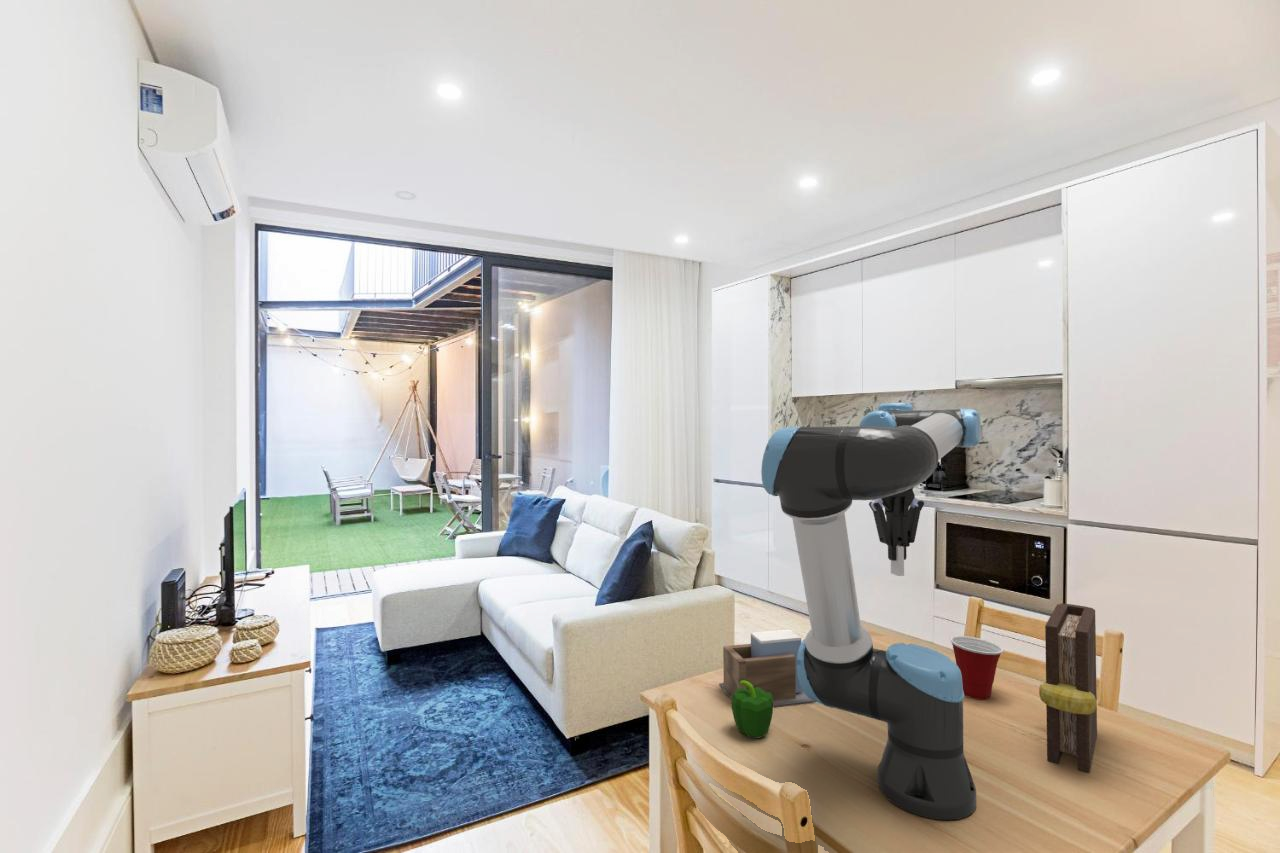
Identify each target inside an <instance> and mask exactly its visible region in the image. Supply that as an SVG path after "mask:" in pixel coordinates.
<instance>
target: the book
mask: <svg viewBox="0 0 1280 853" xmlns="http://www.w3.org/2000/svg"><path fill="white" fill-rule="evenodd" d="M1044 626H1045V627H1044V633H1045V634H1044V635H1045V637H1044V638H1045V640H1044V641H1045V642H1044V643H1045V682H1042V683H1041V684H1040V685H1039V687H1038V690H1039V691H1038V693H1039V697H1040V701H1041V702H1042V703H1044V704H1045V705H1046V706H1045V707H1046V760H1047V762H1049V763H1052V764H1054V765H1059V764H1060V762H1061V759H1062V755H1063V753H1064V754H1065V753H1066V754H1069V755H1072V756H1076V760H1077V761H1076V764H1077V765H1076V769H1077V771H1079V772H1081V773H1082V772H1083V773H1085V774H1090V772H1091V769H1092V763H1093V759H1094V754H1095V753H1094V752H1095V749H1096V748H1095V747H1096V743H1097V738H1098V708H1097V705H1098V704H1097V702H1098V701H1097V699H1098V697H1097V696H1098V695H1097V638H1096V636H1097V635H1096V633H1097V632H1096V631H1097V630H1096V629H1097V628H1096V609H1094V608H1093V607H1090V606H1089V607H1088V606H1086V605H1085V606H1084V605H1078V604H1077V605H1076V604H1072V603H1057V604H1056V606H1055V607H1054V610H1053V611H1052V613H1051V615H1050V616H1049V617H1048V619H1047V621H1046V624H1045V625H1044Z"/></svg>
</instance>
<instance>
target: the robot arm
mask: <svg viewBox="0 0 1280 853" xmlns="http://www.w3.org/2000/svg"><path fill="white" fill-rule="evenodd" d="M981 427H982V425H981V416H980V414H979V413H978V411H977V410H975V409H970V408H969V409H968V408H966V409H965V408H964V409H963V408H957V409H930V410H922V409H920V410H919V409H918V410H914V407H913V405H912V403H908V402H907V403H906V402H904V403H903V402H899V403H898V402H894V403H892V402H891V403H881V404H879V405H878V407H877V410H873V411H871V412H869V413H867V414H865V415H864V416H863V417H862V419H861V420H860V422H859V425H856V426H855V425H854V426H847V425H846V426H843V425H842V426H840V425H839V426H805V425H799V426H794V427H792V426H791V427H782V428H780V429H777V430H776V431H775V432H774V433H773V434H772V435H771V436H770V438H769V439H768V441H767V443H766V445H765V449H764V452H763V454H762V455H763V456H762V462H761V471H760V474H761V483H762V487H763V489H764V491H765V492H766V493H768V495H771V496H773V497H779V502H780V507H781V512H782V513H784V515H786V516H788V517H789V518H791V519H792V525H793V530H794V535H795V536H794V537H795V543H796V547H797V548H796V549H797V554H798V558H799V564H800V571H801V576H802V582H803V589H804V594H805V600H806V605H807V612H808V616H809V618H808V619H809V624H810V630H808V631H807V633H806V636H805V637H804V639H802V640H801V645H800V647H799V651H798V656H797V660H798V665H797V674H798V680H799V683H800V686H801V688H802V690H803V692H804V694H805V695H806V696H807V697H808V698H809V699H811V700H812V701H815V702H816V703H818V704H821V705H823V706H824V707H827V708H830V709H837V710H840V711H844V712H848V713H852V714H856V715H860V716H863V717H867V718H870V719H874V720H877V721H881V722H884V723H886V725H887V741H886V744H885V746H884V750H883V753H882V756H881V759H880V762H879V764H878V766H877V772H876V773H877V774H876V775H877V787H878V789H879V791H880V792H881V794H882V795H883V796H884V797H885V798H886V799H887V800H888V801H889V802H891V803H892V804H893V805H895V806H897V807H899V808H900V809H903V810H905V811H906V812H908V813H911V814H914V815H917V816H921V817H923V818H929V819H934V820H935V819H936V820H943V821H944V820H945V821H947V820H948V821H949V820H952V821H953V820H958V819H963V818H966V817H968V816H970V815H972V814H973V813H974V812H975V810H976V808H977V789H976V785H975V783H974V779H973V776H972V773H971V771H970V769H969V765H968V762H967V759H966V756H965V753H964V700H965V699H964V698H965V695H964V691H963V685H962V675H961V671H960V669H959V667H958V666H957V665H956V661H954V660H952V659H951V658H950V657H948V656H947V655H945V654H944V653H942V652H940V651H937V650H935V649H932V648H929V647H926V646H922V645H919V644H915V643H914V644H913V643H908V644H907V643H904V642H903V643H902V642H897V643H893V644H890V645H889V646H888V647H887V649H886V650H883V649H879V648H875V647H874V646H873V640H872V639H873V638H872V636H871V634H870V632H869V631H868V630H867V629H866V628H865V627H863V626H862V624H861V617H860V610H859V602H858V598H857V588H856V583H855V582H856V581H855V577H854V576H855V575H854V569H853V563H852V556H851V548H850V542H849V535H848V529H847V521H846V516H845V513H846V512H847V511H848V510H849V509H850V507H851V506H852V505H853V501H869V503H868V506H869V508H870V509H871V511H872V513H873V518H874V521H875V528H876V531H877V535H878V540H879V542H880V543H881V544H885V545H887V558H888V560H890V574H892V575H895V576H897V577H903V576H905V561H906V560H907V547H910V545H911V544H913V543H915V541H916V540H915V539H916V536H917V530H918V525H919V521H920V520H919V519H920V515H921V511H922V509H923V507H924V505H925V502H924V500H919V499H917V497H915V496H916V494H915V493H914V488H915V487H917V486H918V485H921V483H923V482H925V481H926V480H928V479H929V478H930V477H931V476H932V475H933V474H934V473H935V470H936V469H937V467H938V464H939V461H940V460H941V459H942V458H944V456H946V455H947V454H948V453H949V452H951V451H952V450H953V449H954V448H955V447H956V448H963V449H964V448H969V447H970V448H971V447H972V448H973V447H976V446H977V445H979V444H980V440H981V432H982V429H981ZM873 500H874V501H873Z"/></svg>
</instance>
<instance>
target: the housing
mask: <svg viewBox="0 0 1280 853" xmlns="http://www.w3.org/2000/svg"><path fill="white" fill-rule="evenodd" d="M722 656H723V657H722V658H723V661H722V662H723V682H720V683H718V684H719V687H720V686H721V687H722V688H721V687H720V688H721V689H722V690H723V691H724V693H725V694H726V695H727V696H728V697H729V698H730V699H732V697H733V694H734V693H735V692H736V691H737V690H738V689H739V688H743V689H747V690H749V688H748V687H747V686H745V685H743V686H742V685H741V684H740V681H743V680H745V681H748V682H750V683H751V684H752V685H753V688H757V687H759V688H761V689H762V690H764V691H765V692H770V693H771V694H772V696H773V708H781V707H789V706H797V705H798V706H799V705H806V704H814V703H817V702H815V701H812V700H811V699H809V698H808V697H807V696H806V695H805V694H804V692H803V690H802V692H798V693H796V674H795V656H794V655H793V654H786V655H775V656H765V657H755V658H751V643H745V644H734V645H726V646H725V645H724V646H723V655H722Z"/></svg>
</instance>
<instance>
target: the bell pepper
mask: <svg viewBox="0 0 1280 853" xmlns="http://www.w3.org/2000/svg"><path fill="white" fill-rule="evenodd" d="M740 684H741V685H742V686H743V685H745V686H747V687H748V688H749V690H747V689H743V688H739V689H738V690H737V691H736V692H735V693H734V694H733V697H732V699H731V698H730V699H731V711H732V717H733V720H734V723H735V726H736V728H737V730H738V731H739V732H740V733H741V734H742V733H744V734H745V735H746V736H747V737H749V738H756V739H757V738H759V739H760V738H763V737H764V736H766V735H767V733H768V731H769V729H770V726H771V722H772V719H773V718H772V717H773V714H774V707H773V696H772V694H771V693H770V692H765V691H764V690H762V689H761V688H759V687H757V688H753V685H752V684H751V683H750V682H748V681H745V680H743V681H740Z"/></svg>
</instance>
